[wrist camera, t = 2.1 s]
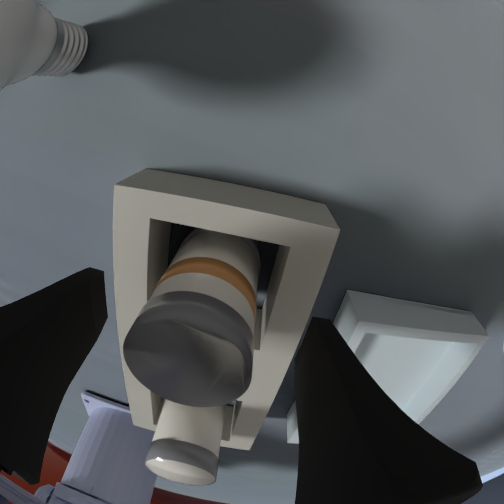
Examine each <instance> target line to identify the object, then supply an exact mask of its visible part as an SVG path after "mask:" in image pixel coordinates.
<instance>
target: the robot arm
mask: <svg viewBox="0 0 504 504" xmlns="http://www.w3.org/2000/svg"><path fill="white" fill-rule="evenodd" d="M107 318H108V314H107V305H106V294H105V282H104V271H101V270H97V269H94V268H90V267H89V268H86V269H84V270H81V271H79V272H77V273H75V274H72V275H70V276H68V277H66V278H64V279H62V280H60V281H58V282H56V283H54V284H52V285H50V286H48V287H46V288H44V289H42V290H40V291H37V292H35V293H33V294H31V295H28V296H26V297H24V298H22V299H20V300H18V301H15V302H13V303H10V304H8V305H5V306H2V307H0V471H1V470H3V471H4V472H6V473H7V474H9V475H11V474H12V473H13V474H15V475H16V476H18V477H19V478H21V479H22V480H24V481H25V482H27V483H29V484H30V485H34V484H37V483H39V480H40V474H41V468H42V463H43V458H44V453H45V450H46V446H47V442H48V438H49V435H50V432H51V429H52V426H53V423H54V420H55V417H56V414H57V412H58V409H59V407H60V404H61V402H62V399H63V397H64V395H65V393H66V391H67V389H68V387H69V385H70V383H71V381H72V380H73V378H74V376H75V375H76V373H77V371H78V370H79V368H80V367H81V365H82V363H83V362H84V360H85V359H86V357H87V355H88V354H89V352H90V351H91V349H92V347H93V346H94V344H95V342H96V341H97V339H98V337H99V335H100V333H101V331H102V329H103V326H104V324H105V322H106V320H107ZM294 390H295V402H296V413H297V424H298V436H299V462H298V478H297V490H296V499H295V504H461V503H462V502H464V501H466V500H467V499H469V498H471V497H472V496H474V495H475V494H476V493H478V492H479V491H480V490H481V488H482V487H483V485H482V481H481V478H480V475H479V471H478V468H477V465H476V463H475V462H474V461H472V460H470V459H469V458H467V457H465V456H463V455H461V454H460V453H458V452H456V451H454V450H453V449H451V448H449V447H448V446H446V445H445V444H443V443H442V442H440V441H439V440H438V439H436V438H435V437H433V436H432V435H431V434H429V433H428V432H427V431H425V430H424V429H423V428H422V427H421V426H419V425H418V424H417V423H416V422H415V421H414V420H412V419H411V418H410V417H409V416H408V415H407V414H406V413H405V412H404V411H402V410H401V409H400V408H399V407H398V406H397V405H396V403H395V402H394V401H393V400H392V399H391V398H390V397H389V396H388V395H387V394H386V393H385V392H384V391H383V390H382V389H381V387H380V386H379V385H378V384H377V383H376V381H375V380H374V379H373V378H372V377H371V375H370V374H369V373H368V372H367V370H366V369H365V368H364V366H363V365H362V364H361V362H360V361H359V360H358V358H357V357H356V356H355V354H354V353H353V351H352V350H351V349H350V347H349V346H348V344H347V343H346V341H345V340H344V339H343V337H342V336H341V334H340V333H339V331H338V330H337V329H336V327H335V326H334V324H333V323H332V322H331V320H330V319H324V318H318V317H312V320H311V322H310V325H309V327H308V329H307V332H306V334H305V337H304V339H303V341H302V344H301V346H300V349H299V351H298V353H297V356H296V358H295V371H294ZM81 397H82V400H83V402H84V405H85V407H86V410H87V412H88V415H89V419H88V421H87V423H86V425H85V428H84V430H83V432H82V434H81V436H80V438H79V441H78V443H77V445H76V447H75V450H74V452H73V454H72V457H71V459H70V461H69V464H68V466H67V469H66V471H65V473H64V476H63V478H62V481H61V483H59V482H57V484H56V486H55V487H53V486H51V485H46V486H42V487H40V488H39V489H38V490H37V491H36V493H35V494H34V495H32V494H30V493H29V492H27V491H26V490H24V489H22V488H21V487H19V486H18V485H16V484H14V483H13V482H12V481H10V480H9V479H7V478H6V477H4V476H3V475H2V474H0V504H9V502H8V500H9V501H11V502H12V503H14V504H150V500H151V496H152V493H153V489H154V485H155V481H156V477H157V475H156V474H155V473H153V472H151V471H150V470H149V469H148V468H147V467H146V466H145V460H146V457H147V454H148V450H149V447H150V444H151V442H152V440H153V437H154V434H155V431H152V430H149V429H145V428H142V427H139V426H135V425H133V421H132V416H131V411H130V407H127V406H124V405H121V404H118V403H115V402H113V401H110V400H107V399H104V398H101V397H99V396H96V395H93V394H91V393H88V392H86V391H83V392H82V393H81ZM7 499H8V500H7Z"/></svg>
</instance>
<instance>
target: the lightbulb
mask: <svg viewBox="0 0 504 504" xmlns="http://www.w3.org/2000/svg"><path fill="white" fill-rule="evenodd" d="M87 46H88V35H87V32H86V30H85V29H84V28H83V27H82V26H80V25H77V24H74V23H71V22H67V21H65V20H61V19H58V18H55V17H53V15H52V13H51V12H50V11H49V10H48V9H47V8H45V7H44V6H42V5H41V4H39V3H38V2H37V0H0V91H1V90H2V89H3V88H4V87H5V86H7V85H10V84H13V83H17V82H20V81H22V80H24V79H26V78H28V77H30V76H35V75H37V76H41V75H43V76H64V75H67V74H69V73H70V72H72V71H73V70H74V69H75V68H76V67H77V66H78V65H79V64H80V63H81V61H82V59H83V58H84V56H85V53H86V50H87Z"/></svg>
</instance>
